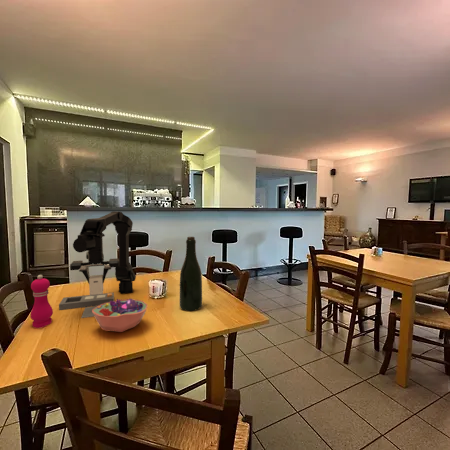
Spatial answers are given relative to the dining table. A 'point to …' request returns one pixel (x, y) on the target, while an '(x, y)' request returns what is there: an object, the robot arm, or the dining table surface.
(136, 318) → the cell model
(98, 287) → the block
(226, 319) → the dining table surface
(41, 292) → the pepper mill
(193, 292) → the dark green wine bottle
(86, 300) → the power strip
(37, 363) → the dining table surface
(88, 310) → the mat
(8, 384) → the dining table surface
